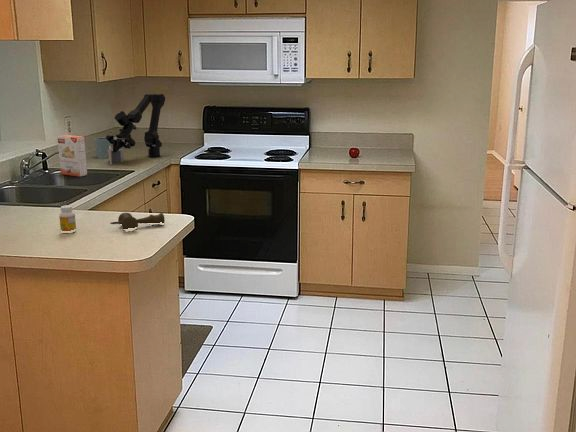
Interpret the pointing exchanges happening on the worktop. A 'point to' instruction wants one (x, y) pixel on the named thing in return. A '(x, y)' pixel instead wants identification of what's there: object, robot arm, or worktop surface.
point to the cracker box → (72, 155)
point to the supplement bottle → (67, 218)
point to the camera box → (117, 156)
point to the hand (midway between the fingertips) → (114, 152)
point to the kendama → (137, 220)
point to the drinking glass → (102, 147)
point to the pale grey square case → (110, 155)
